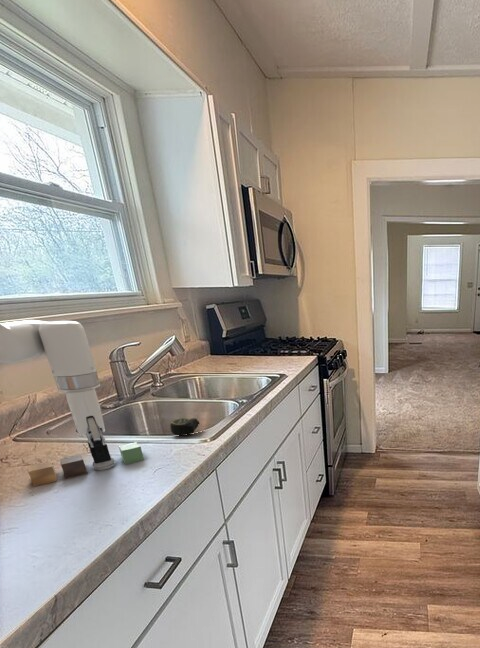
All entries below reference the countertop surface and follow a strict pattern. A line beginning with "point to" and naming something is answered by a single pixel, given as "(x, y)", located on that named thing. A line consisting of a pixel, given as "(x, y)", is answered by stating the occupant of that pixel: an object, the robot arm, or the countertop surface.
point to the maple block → (42, 473)
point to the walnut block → (73, 466)
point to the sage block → (131, 452)
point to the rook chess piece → (103, 463)
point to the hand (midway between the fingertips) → (101, 458)
